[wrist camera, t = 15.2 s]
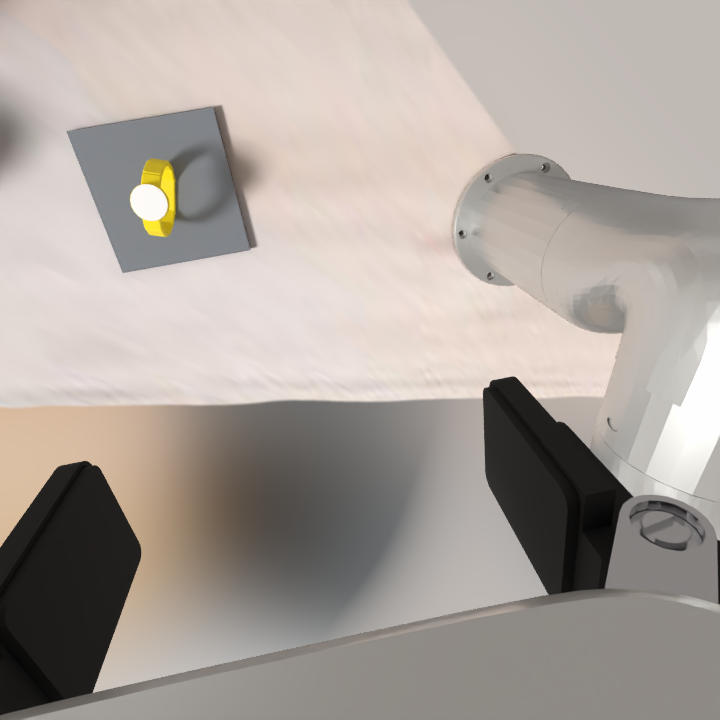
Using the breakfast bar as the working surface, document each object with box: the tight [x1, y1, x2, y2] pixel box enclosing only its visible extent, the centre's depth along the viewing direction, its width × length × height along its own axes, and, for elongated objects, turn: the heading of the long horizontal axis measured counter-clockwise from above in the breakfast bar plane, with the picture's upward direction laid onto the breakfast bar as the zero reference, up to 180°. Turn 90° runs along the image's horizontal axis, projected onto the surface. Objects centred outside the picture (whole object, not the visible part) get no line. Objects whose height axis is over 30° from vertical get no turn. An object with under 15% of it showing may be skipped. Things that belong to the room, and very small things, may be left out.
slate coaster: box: [67, 107, 250, 273], centre depth 41 cm, size 12×12×1 cm
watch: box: [130, 158, 176, 237], centre depth 38 cm, size 6×3×6 cm, turn 171°
